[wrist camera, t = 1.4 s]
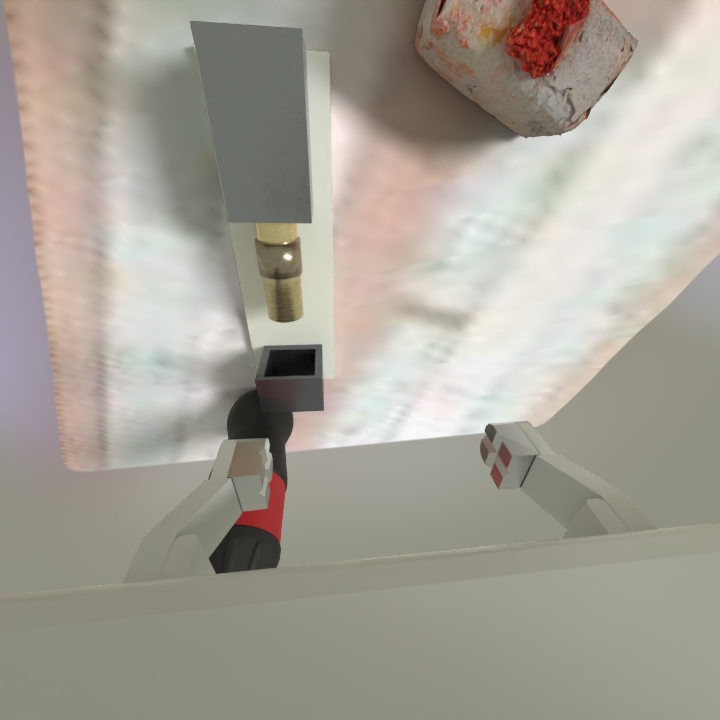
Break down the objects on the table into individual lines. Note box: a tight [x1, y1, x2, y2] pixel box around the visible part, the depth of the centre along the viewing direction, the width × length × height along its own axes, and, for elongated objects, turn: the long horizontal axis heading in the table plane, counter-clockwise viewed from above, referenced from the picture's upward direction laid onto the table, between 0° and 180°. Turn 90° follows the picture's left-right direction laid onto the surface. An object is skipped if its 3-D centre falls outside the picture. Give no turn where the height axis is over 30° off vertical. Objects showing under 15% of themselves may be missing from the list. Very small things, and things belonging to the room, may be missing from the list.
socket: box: [255, 344, 324, 413], centre depth 38 cm, size 5×7×7 cm
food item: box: [414, 0, 638, 138], centre depth 22 cm, size 14×8×10 cm, turn 63°
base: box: [193, 43, 335, 379], centre depth 34 cm, size 32×10×1 cm, turn 178°
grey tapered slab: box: [190, 21, 313, 224], centre depth 25 cm, size 11×6×6 cm, turn 178°
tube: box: [254, 223, 304, 323], centre depth 28 cm, size 20×4×4 cm, turn 178°
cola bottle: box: [208, 390, 293, 574], centre depth 34 cm, size 8×8×30 cm
